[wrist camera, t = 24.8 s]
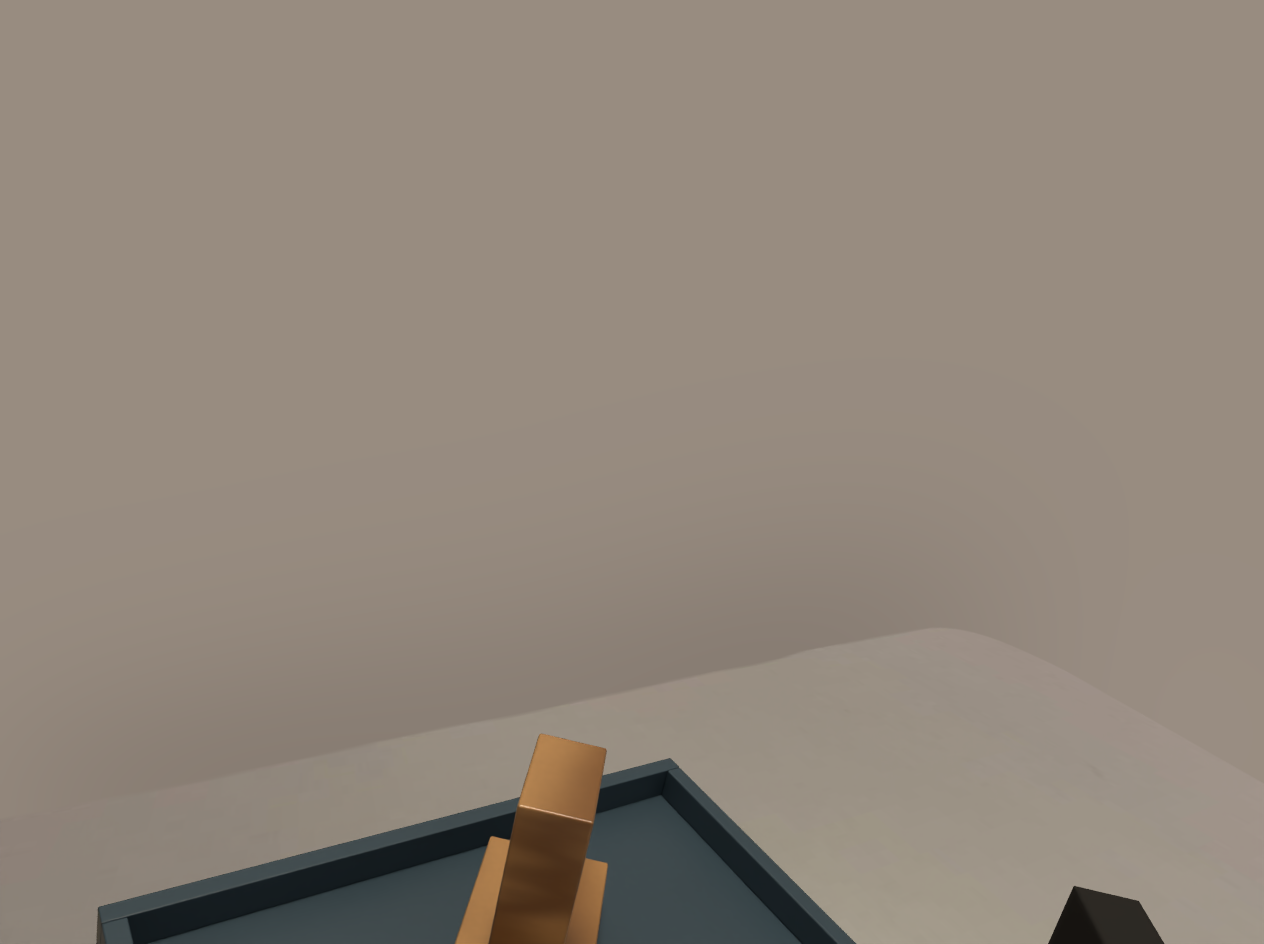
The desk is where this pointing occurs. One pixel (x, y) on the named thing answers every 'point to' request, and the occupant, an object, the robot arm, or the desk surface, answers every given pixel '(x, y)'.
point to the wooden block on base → (544, 857)
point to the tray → (449, 864)
